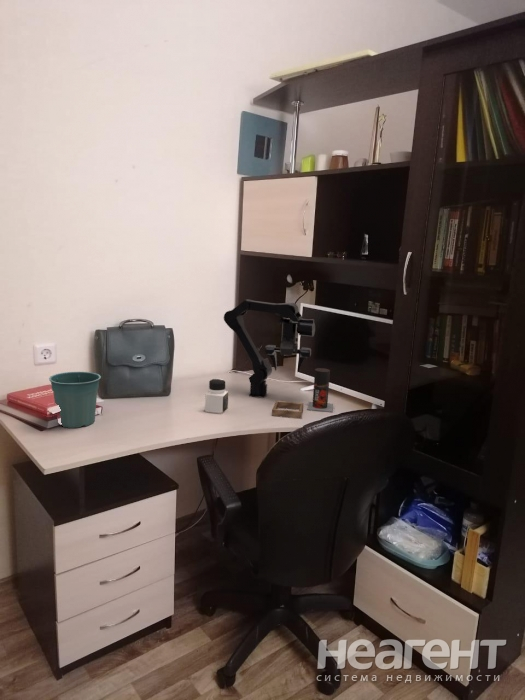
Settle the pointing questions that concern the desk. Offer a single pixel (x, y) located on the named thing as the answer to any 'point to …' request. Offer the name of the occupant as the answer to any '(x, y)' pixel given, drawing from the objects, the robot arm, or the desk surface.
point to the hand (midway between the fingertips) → (286, 371)
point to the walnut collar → (287, 412)
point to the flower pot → (76, 397)
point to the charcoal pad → (328, 409)
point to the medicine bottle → (216, 397)
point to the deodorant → (321, 388)
